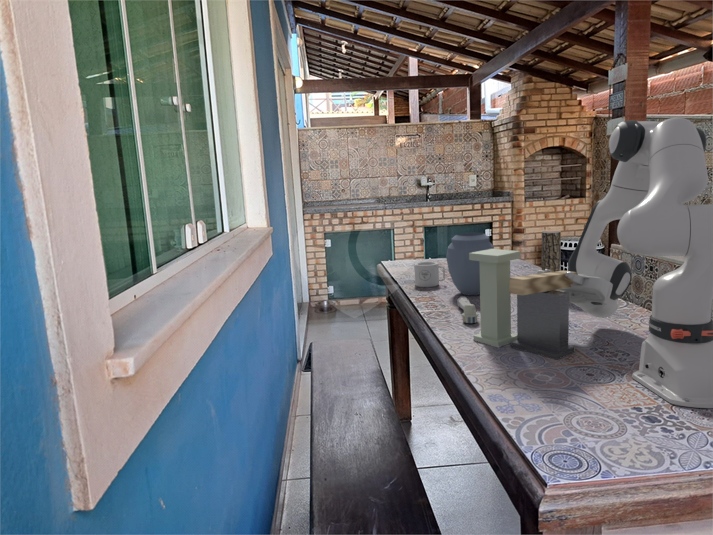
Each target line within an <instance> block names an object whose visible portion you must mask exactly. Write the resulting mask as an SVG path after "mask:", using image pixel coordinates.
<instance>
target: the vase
mask: <svg viewBox="0 0 713 535" xmlns="http://www.w3.org/2000/svg"><path fill="white" fill-rule="evenodd" d="M488 249H495V246H494V245H493V244H492V242H490V237H489V236H488V235H487V234H485V233H484V232H462V233H457V234H455V235H454V236H453V237H451V243H450V244H449V245H448V246H447V249H446V256H445V258H446V259H445V260H446V264H447V268H448V273H449V275H450V277H451V280H452V283H453V285H454V286H455V288H456V289H457V291H458V292H459V293H461V294H462V295H464V296H480V263H479V261H474V260H469V253H472V252H477V251H483V250H488Z"/></svg>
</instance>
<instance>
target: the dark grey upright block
mask: <svg viewBox="0 0 713 535" xmlns="http://www.w3.org/2000/svg"><path fill="white" fill-rule="evenodd" d="M569 304H570V301H569V293H568V292H563V291H555V290H552V291H546V292H540V293H534V294H528V295H517V294H516V306H517V307H516V319H517V320H516V322H517V323H516V326H517V327H516V328H517V330H516V332H517V334H516V335H517V340H516V341H513V342H511V343H510V344H511V348H512V349H517V350H520V351H522V352H523V351H524V352H526V353H531V354H535V355H537V356H542V357H546V358H548V359H553V360H559V359H562V358H564V357H566V356H568V355H569V356H570V355H572V354H573V353H575V346H573V345H569V324H570V320H569V319H570V318H569V317H570V316H569V315H570V309H569V306H570V305H569Z"/></svg>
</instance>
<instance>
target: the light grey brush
mask: <svg viewBox="0 0 713 535" xmlns="http://www.w3.org/2000/svg"><path fill="white" fill-rule="evenodd" d="M456 304H457V307H459V308H460V309H462V310H463V313H461V317H462V323H465V324H476V323H478V317H479V313H478V312H477V311H476V305H475V304H474V303H471V302H470V299H469V298H468V297H467V296H460V297H458V298H457V300H456Z"/></svg>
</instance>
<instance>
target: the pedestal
mask: <svg viewBox="0 0 713 535" xmlns="http://www.w3.org/2000/svg"><path fill="white" fill-rule="evenodd" d="M521 255H522V254H521V251H520V250H510V249H499V248H494V249H488V250H483V251H477V252H472V253H469V260H474V261H479V263H480V294H479V302H480V303H479V304H480V305H479V306H480V310H479V311H480V313H479V314H480V332H479V333H477V334H474V335H473V341H474V340H475V342H477V341H478V342H477V343H481V344H484V345H488V346H492V347H496V348H500V347H504V346H506V345H508V344H511V342H513V341H516V340H517V334H516V333H512V323H511V322H512V320H511V319H512V311H511V310H512V307H511V306H512V305H511V301H512V300H511V293H509V284H510V278H511V261H514V260H519V259H521V258H522V257H521Z"/></svg>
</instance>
